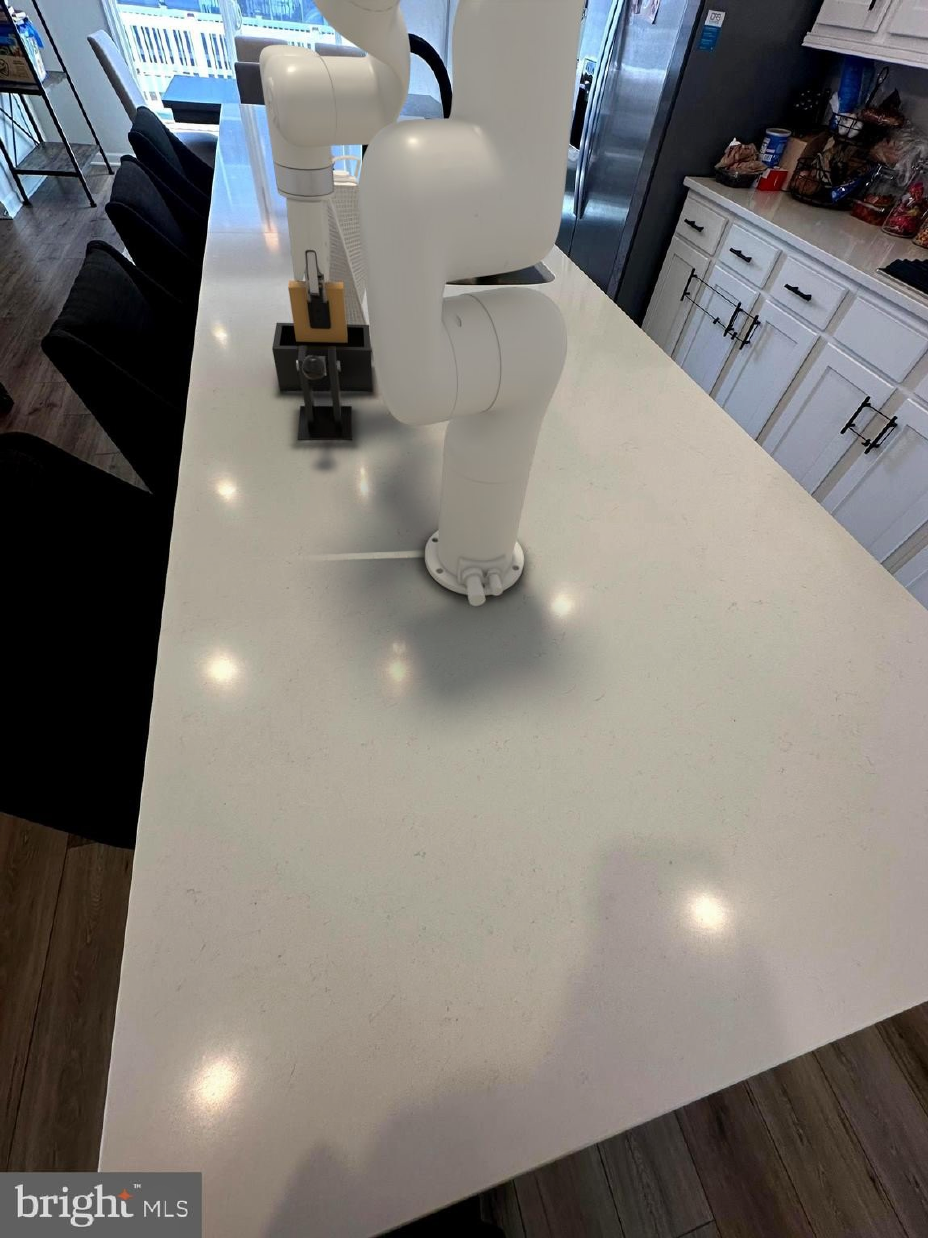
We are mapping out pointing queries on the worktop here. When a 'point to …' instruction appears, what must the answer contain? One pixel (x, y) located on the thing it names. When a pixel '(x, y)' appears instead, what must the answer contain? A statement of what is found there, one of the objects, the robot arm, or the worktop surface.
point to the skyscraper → (347, 242)
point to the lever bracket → (323, 418)
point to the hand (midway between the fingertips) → (321, 322)
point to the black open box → (349, 354)
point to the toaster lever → (315, 367)
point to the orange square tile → (302, 317)
